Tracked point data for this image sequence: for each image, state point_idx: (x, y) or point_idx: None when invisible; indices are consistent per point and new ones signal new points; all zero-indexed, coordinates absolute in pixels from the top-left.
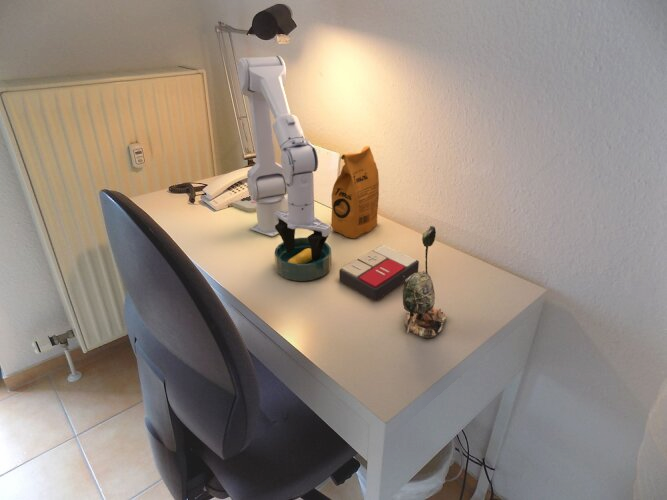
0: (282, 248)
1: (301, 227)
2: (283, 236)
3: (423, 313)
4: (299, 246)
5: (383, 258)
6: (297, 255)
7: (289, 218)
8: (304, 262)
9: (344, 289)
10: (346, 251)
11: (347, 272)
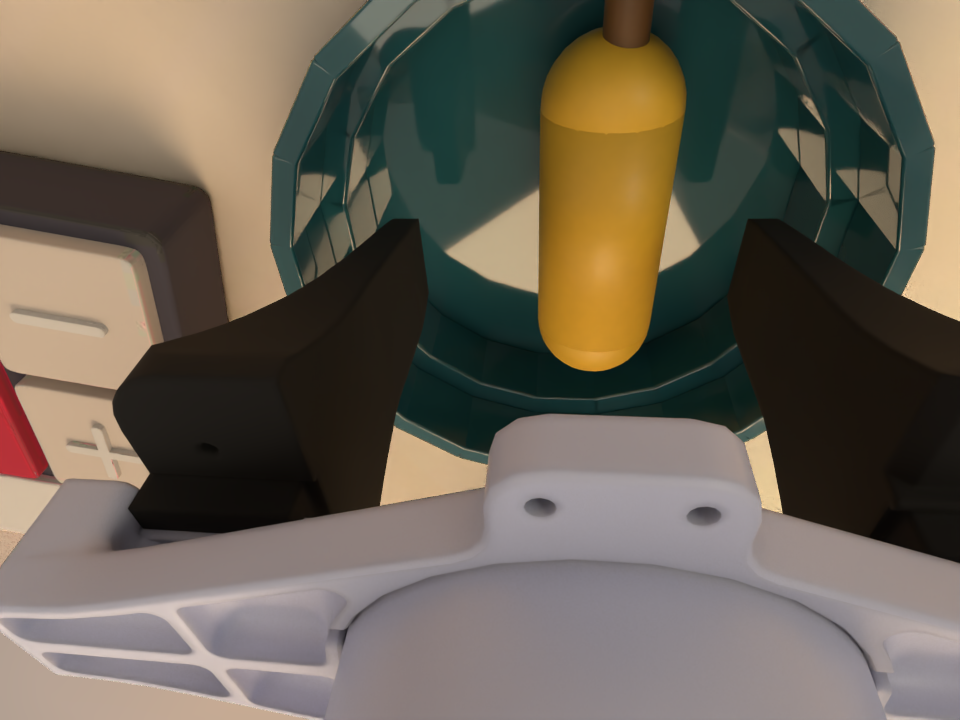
0: (863, 244)
1: (398, 525)
2: (873, 316)
3: None
4: (725, 363)
5: (60, 471)
6: (617, 216)
7: (804, 698)
8: (539, 200)
9: (81, 113)
10: (453, 465)
11: (62, 239)
